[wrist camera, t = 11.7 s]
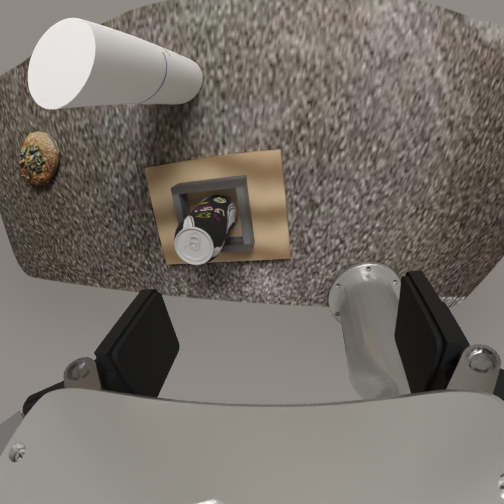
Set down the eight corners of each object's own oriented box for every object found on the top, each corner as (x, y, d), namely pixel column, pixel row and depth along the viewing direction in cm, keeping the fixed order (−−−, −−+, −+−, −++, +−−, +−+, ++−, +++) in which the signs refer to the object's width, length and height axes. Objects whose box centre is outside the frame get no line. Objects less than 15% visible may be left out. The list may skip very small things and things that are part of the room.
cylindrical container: (163, 111, 39) (37, 125, 17) (150, 69, 37) (23, 50, 14) (208, 94, 38) (104, 80, 15) (195, 50, 35) (87, 0, 13)
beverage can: (242, 199, 42) (223, 230, 32) (233, 235, 45) (213, 276, 34) (203, 189, 43) (172, 216, 32) (196, 225, 45) (166, 262, 34)
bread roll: (36, 195, 48) (19, 199, 43) (23, 146, 46) (6, 148, 41) (70, 170, 46) (51, 173, 41) (55, 118, 43) (37, 117, 38)
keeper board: (290, 255, 46) (289, 268, 43) (169, 261, 50) (159, 273, 46) (280, 149, 40) (279, 152, 36) (148, 167, 43) (135, 172, 40)
